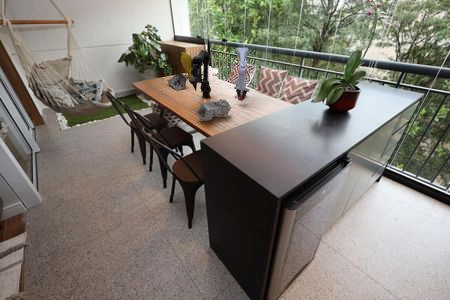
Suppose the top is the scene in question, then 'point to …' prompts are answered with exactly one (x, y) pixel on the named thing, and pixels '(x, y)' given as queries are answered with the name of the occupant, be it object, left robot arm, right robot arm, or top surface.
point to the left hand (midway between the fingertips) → (199, 91)
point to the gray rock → (177, 81)
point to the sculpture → (187, 63)
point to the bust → (213, 110)
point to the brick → (240, 97)
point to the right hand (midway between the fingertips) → (241, 98)
